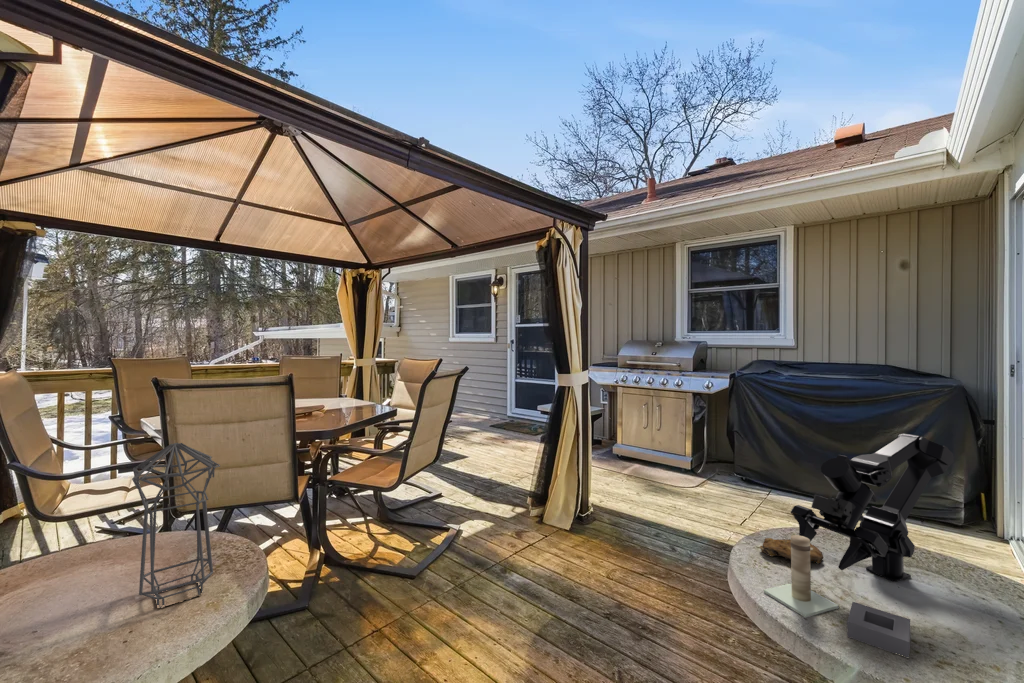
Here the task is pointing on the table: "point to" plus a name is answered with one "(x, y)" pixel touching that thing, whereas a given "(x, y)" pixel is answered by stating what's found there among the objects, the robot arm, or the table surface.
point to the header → (879, 629)
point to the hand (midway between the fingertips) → (818, 559)
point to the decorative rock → (787, 549)
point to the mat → (803, 608)
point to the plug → (800, 568)
